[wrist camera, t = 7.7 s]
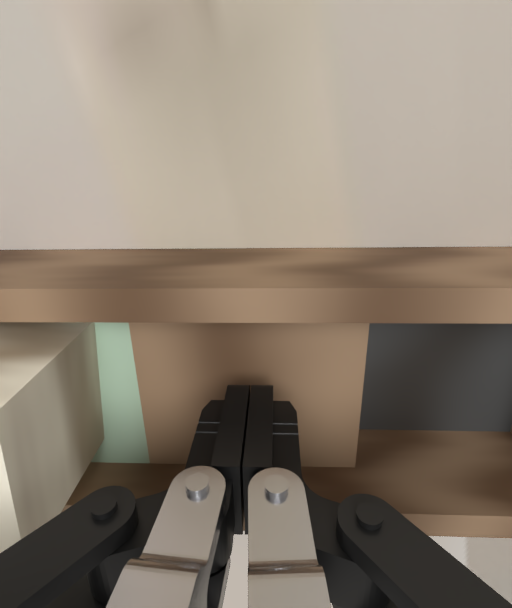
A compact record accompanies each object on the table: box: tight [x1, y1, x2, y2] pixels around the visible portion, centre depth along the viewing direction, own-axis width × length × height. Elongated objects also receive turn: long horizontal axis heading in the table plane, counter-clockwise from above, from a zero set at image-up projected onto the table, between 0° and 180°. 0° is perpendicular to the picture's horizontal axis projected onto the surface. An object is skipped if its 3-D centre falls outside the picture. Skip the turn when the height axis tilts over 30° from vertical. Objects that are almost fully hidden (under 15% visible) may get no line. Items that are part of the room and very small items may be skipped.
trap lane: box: [0, 247, 512, 538], centre depth 14 cm, size 36×9×4 cm, turn 91°
